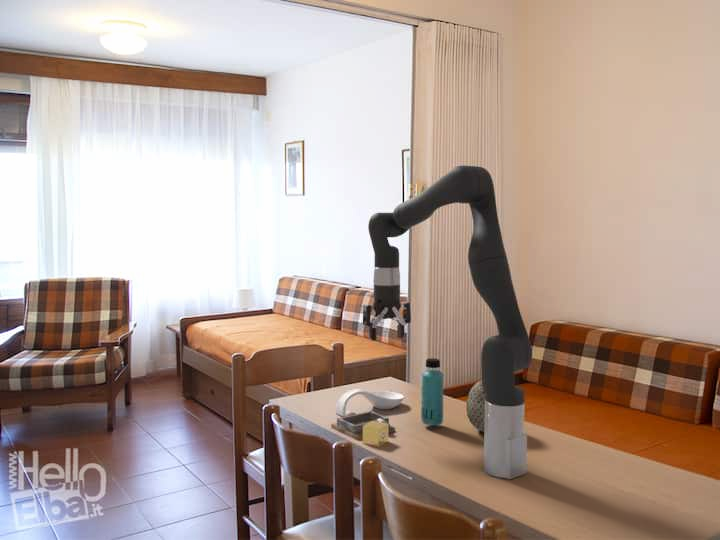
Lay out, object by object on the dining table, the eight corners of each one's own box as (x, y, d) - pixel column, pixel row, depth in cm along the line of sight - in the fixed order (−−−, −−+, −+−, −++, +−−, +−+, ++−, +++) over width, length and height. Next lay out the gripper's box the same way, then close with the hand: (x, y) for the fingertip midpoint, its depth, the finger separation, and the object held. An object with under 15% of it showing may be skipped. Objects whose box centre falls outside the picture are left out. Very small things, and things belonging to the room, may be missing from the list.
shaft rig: (397, 432, 186) (397, 419, 186) (360, 441, 179) (360, 428, 178) (365, 418, 199) (365, 406, 198) (329, 426, 191) (329, 414, 191)
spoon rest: (388, 399, 219) (389, 378, 219) (411, 408, 210) (411, 386, 209) (328, 411, 206) (328, 389, 205) (350, 421, 196) (350, 398, 196)
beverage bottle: (443, 423, 194) (444, 356, 192) (443, 431, 187) (444, 361, 185) (420, 422, 194) (421, 356, 193) (420, 430, 188) (421, 361, 186)
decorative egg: (470, 438, 181) (471, 385, 180) (462, 425, 193) (463, 374, 191) (512, 438, 181) (514, 385, 180) (502, 424, 193) (503, 374, 192)
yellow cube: (388, 441, 179) (388, 423, 178) (378, 447, 175) (378, 429, 174) (372, 438, 182) (372, 420, 181) (362, 443, 177) (362, 425, 177)
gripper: (370, 285, 181) (370, 343, 182) (415, 283, 187) (415, 339, 188) (358, 283, 188) (358, 339, 189) (402, 280, 194) (402, 335, 195)
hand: (387, 339), depth 189 cm, fingers open, 8 cm apart
